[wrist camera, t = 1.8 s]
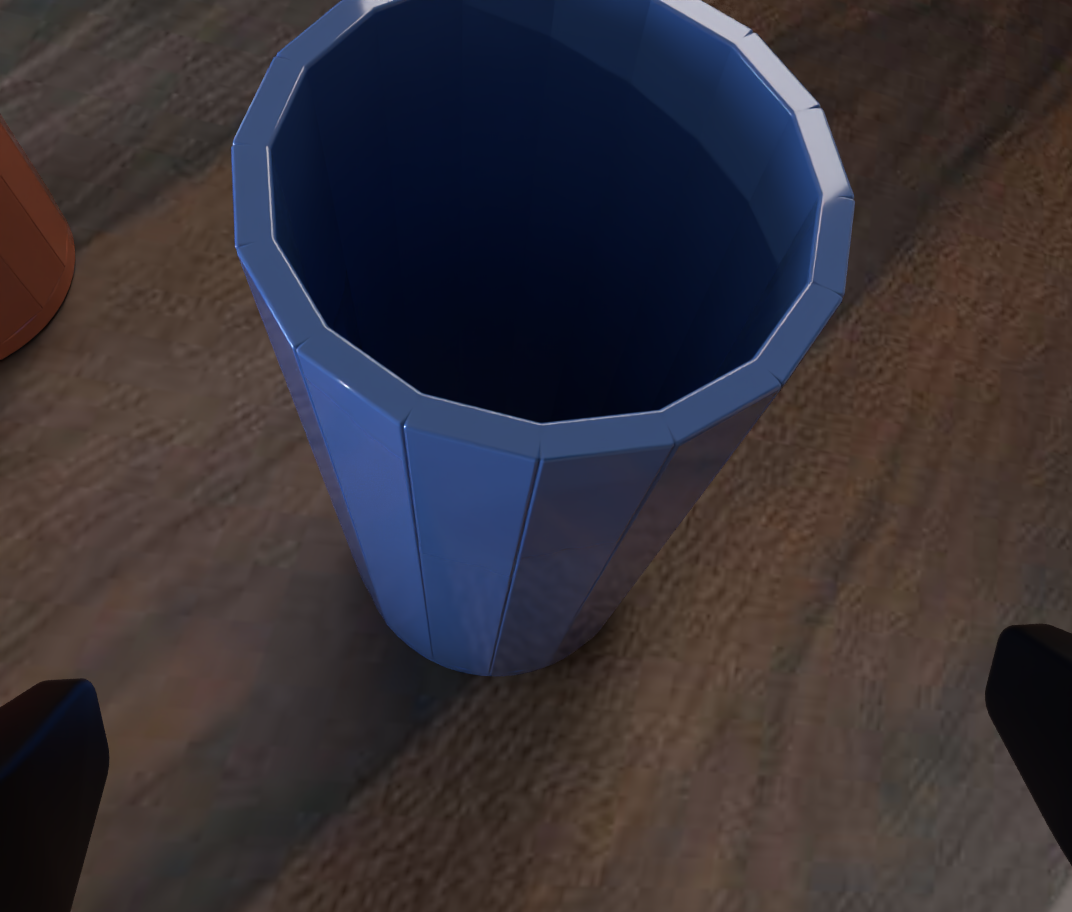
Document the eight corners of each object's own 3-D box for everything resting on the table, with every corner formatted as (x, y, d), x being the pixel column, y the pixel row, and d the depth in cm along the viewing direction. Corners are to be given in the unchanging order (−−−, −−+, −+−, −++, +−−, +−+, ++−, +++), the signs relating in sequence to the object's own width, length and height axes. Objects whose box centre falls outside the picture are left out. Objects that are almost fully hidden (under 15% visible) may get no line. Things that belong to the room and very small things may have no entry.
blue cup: (652, 655, 20) (936, 415, 8) (373, 696, 19) (243, 497, 7) (601, 406, 23) (764, -57, 11) (350, 434, 22) (222, -38, 10)
